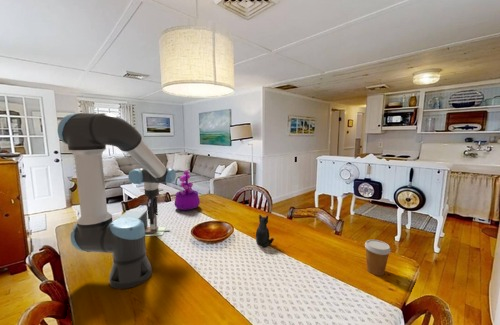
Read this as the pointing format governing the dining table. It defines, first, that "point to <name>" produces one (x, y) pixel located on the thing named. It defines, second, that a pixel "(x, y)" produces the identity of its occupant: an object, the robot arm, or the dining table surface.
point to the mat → (157, 232)
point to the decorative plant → (186, 194)
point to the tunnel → (140, 217)
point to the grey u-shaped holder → (147, 229)
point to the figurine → (263, 232)
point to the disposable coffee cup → (377, 256)
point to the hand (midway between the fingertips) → (153, 227)
